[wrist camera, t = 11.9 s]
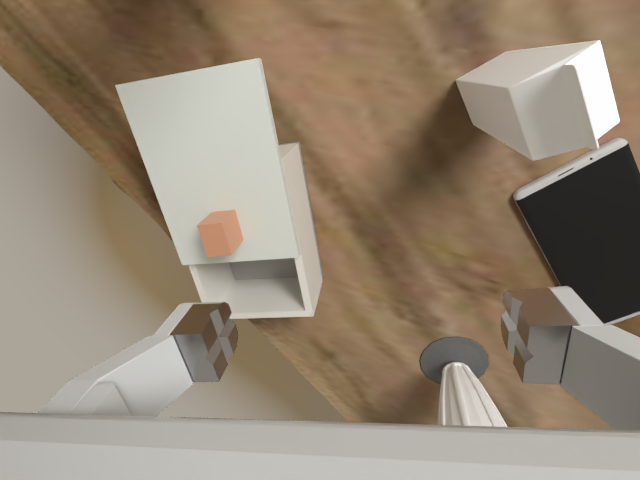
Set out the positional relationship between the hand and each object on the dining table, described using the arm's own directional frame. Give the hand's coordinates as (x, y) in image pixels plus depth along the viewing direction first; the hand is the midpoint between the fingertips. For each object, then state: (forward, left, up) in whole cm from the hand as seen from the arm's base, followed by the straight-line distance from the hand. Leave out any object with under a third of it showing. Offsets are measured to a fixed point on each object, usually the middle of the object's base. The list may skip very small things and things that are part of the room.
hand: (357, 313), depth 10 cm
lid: (+2, -18, -29) cm, 34 cm away
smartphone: (+20, +29, -40) cm, 54 cm away
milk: (-2, +14, -39) cm, 42 cm away
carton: (+12, -18, -39) cm, 45 cm away
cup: (+42, +11, -39) cm, 58 cm away
